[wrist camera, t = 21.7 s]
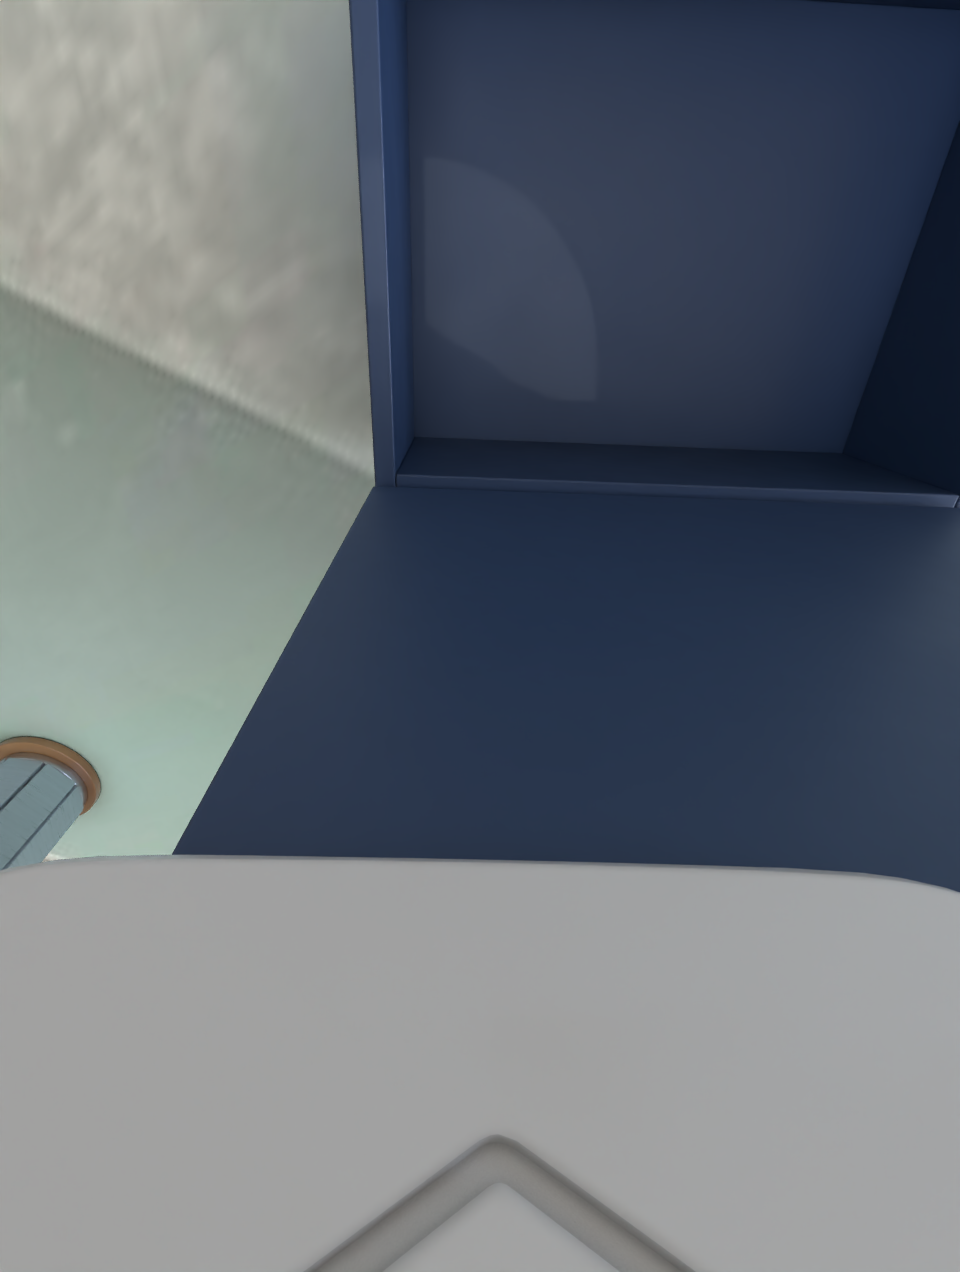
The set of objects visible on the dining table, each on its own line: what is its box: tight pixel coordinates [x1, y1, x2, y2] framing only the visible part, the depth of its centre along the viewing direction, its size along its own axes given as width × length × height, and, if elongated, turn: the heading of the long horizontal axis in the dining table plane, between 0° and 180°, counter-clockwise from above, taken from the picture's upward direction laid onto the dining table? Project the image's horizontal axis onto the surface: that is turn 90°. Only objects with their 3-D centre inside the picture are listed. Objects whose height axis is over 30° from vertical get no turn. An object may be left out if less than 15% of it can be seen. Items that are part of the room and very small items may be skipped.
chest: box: [349, 0, 960, 508], centre depth 16 cm, size 13×18×7 cm
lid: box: [172, 487, 960, 892], centre depth 11 cm, size 14×18×4 cm
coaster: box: [0, 737, 101, 815], centre depth 30 cm, size 6×6×1 cm
